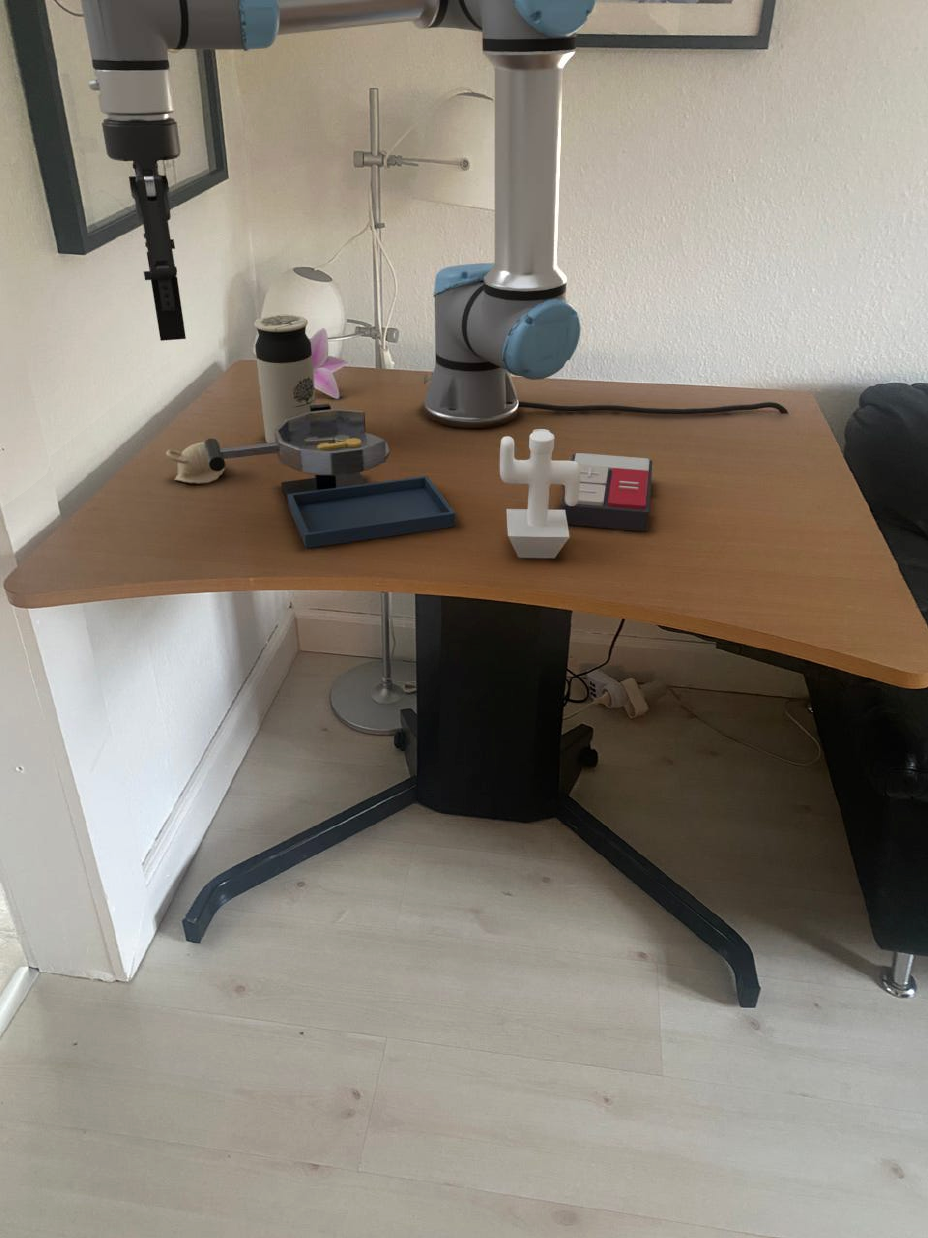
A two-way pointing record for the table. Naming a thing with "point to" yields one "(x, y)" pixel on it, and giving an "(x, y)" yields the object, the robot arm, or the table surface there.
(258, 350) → the travel mug
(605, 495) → the calculator
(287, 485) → the stand
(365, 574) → the table surface
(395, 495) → the tray
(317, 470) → the grey frying pan
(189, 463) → the decorative ornament
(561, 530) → the figurine
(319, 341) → the lily
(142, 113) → the robot arm
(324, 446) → the brass key
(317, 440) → the nickel key
